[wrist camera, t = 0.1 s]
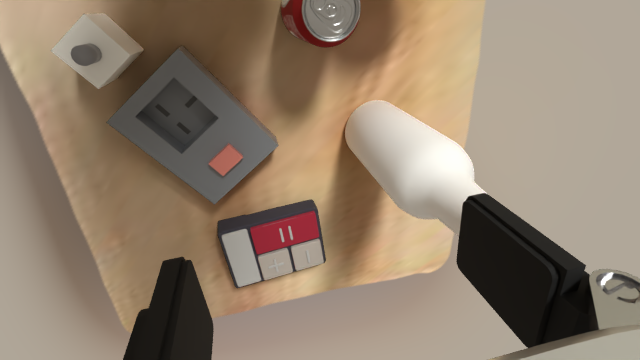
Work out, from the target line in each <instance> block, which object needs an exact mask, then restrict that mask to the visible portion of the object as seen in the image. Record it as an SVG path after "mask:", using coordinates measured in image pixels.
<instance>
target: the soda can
mask: <svg viewBox="0 0 640 360" xmlns="http://www.w3.org/2000/svg"><path fill="white" fill-rule="evenodd" d="M281 15H282V19H283V22H284V24H285V26H286V28H287V29H288V30H289V31H290V33H292V34H293V35H294V36H295V37H297V38H299V39H302V40H304V41H306V42H309V43H311V44H313V45H316V46H319V47H333V46H336V45H339V44H341V43H342V42H344V41H345V40H347V39H348V38H349V37H350V36H351V34H352V33H353V32H354V30H355V28H356V26H357V24H358V21H359V17H360V0H282V2H281Z"/></svg>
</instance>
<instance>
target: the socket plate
mask: <svg viewBox="0 0 640 360" xmlns="http://www.w3.org/2000/svg"><path fill="white" fill-rule="evenodd" d="M106 123H108V124H109V125H110V126H112V127H113V128H114V129H116V130H117V131H118V132H120V133H121V134H122V135H124V136H125V137H126V138H128V139H129V140H130V141H132V142H133V143H134V144H135V145H137V146H138V147H139V148H141V149H142V150H143V151H145V152H146V153H147V154H149V155H150V156H151V157H153V158H154V159H155V160H157V161H158V162H159V163H160V164H162V165H163V166H164V167H166V168H167V169H168V170H170V171H171V172H172V173H174V174H175V175H176V176H178V177H179V178H180V179H182V180H183V181H184V182H186V183H187V184H188V185H189V186H191V187H192V188H193V189H195V190H196V191H197V192H199V193H200V194H201V195H203V196H204V197H205V198H207V199H208V200H209V201H211V202H212V203H213V204H214V205H215V204H216V203H217V202H218V201H219V200H220V199H221V198H222V197H223V196H224V195H225V194H226V193H228V192H229V191H230V190H231V189H232V188H233V187H234V186H235V185H236V184H237V183H238V182H240V181H241V180H242V179H243V178H244V177H245V176H246V175H247V174H248V173H249V172H250V171H251V170H253V169H254V168H255V167H256V166H257V165H258V164H259V163H260V162H261V161H262V160H263V159H265V158H266V157H267V156H268V155H269V154H270V153H271V152H272V151H273V150H274V149H275V148H276V147H278V142H277V139H276V137H275V136H274V135H273V134H272V133H271V132H270V131H269V130H268V129H267V128H266V127H265V126H264V125H263V124H262V123H261V122H260V121H259V120H258V119H257V118H256V117H255V116H254V115H253V114H252V113H251V112H250V111H249V110H248V109H247V108H246V107H245V106H244V105H243V104H242V103H241V102H240V101H239V100H237V99H236V98H235V97H234V96H233V95H232V94H231V93H230V92H229V91H228V90H227V89H226V88H225V87H224V86H223V85H222V84H221V83H220V82H219V81H218V80H217V79H216V78H215V77H214V76H213V75H212V74H211V73H210V72H209V71H208V70H207V69H206V68H205V67H204V66H203V65H202V64H201V63H200V62H199V61H198V60H197V59H196V58H195V57H194V56H193V55H192V54H191V53H190V52H189V51H187V50H186V49H185V48H184V47H183V46H181V47H179V48H178V49H177V50H176V51H175V52H174V53H173V54H172V55H171V56H170V57H169V58H168V59H167V60H166V61H165V62H164V63H163V64H162V65H161V66H160V67H159V68H158V69H157V71H156V72H155V73H154V74H153V75H152V76H151V77H150V78H149V79H148V80H147V81H146V82H145V83H144V84H143V85H142V86H141V87H140V88H139V89H138V90H137V91H136V92H135V93H134V94H133V95H132V96H131V97H130V98H129V99H128V100H127V102H126V103H125V104H124V105H123V106H122V107H121V108H120V109H119V110H118V111H117V112H116V113H115V114H114V115H113V116H112V117H111V118H110V119H109V120H108V121H107V122H106Z"/></svg>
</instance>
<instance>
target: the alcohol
mask: <svg viewBox="0 0 640 360" xmlns="http://www.w3.org/2000/svg"><path fill="white" fill-rule="evenodd" d="M345 138H346V142H347V144H348V146H349V148H350V149H351V151H352V152H353V153H354V154H355V155H356V157H357V158H358V159H359V160H360V161H361V163H362V164H363V165H364V166H365V167H366V169H367V170H368V171H369V172H370V174H371V175H372V176H373V177H374V178H375V180H376V181H377V182H378V183H379V184H380V186H381V187H382V188H383V189H384V190H385V192H386V193H387V194H388V195H389V196H390V198H391V199H392V200H393V201H394V203H395V204H396V205H397V206H398V207H399V208H400V209H402V210H403V211H405V212H406V213H408V214H410V215H412V216H414V217H416V218H420V219H439V220H440V221H441V222H442V223H443V224H445V225H446V226H447V227H448V228H449V229H451V230H452V231H453V232H454V233H455V234H457V235H458V236H459V233H460V223H461V214H462V205H463V202H464V201H466V199H467V197H469V196H472V195H476V194H481V193H486V192H485V191H484V190H482V189H481V188H480V187H479V186H478V185H477V184H476V183H475V182H474V167H473V164H472V161H471V160H470V158H469V156H468V155H467V153H466V152H465V151H464V149H463V148H462V147H461V146H460V145H459V144H458V143H456V142H454V141H453V140H451V139H449V138H448V137H446V136H444V135H443V134H441V133H439V132H438V131H436V130H434V129H433V128H431V127H429V126H428V125H426V124H424V123H423V122H421V121H419V120H418V119H416V118H414V117H412V116H411V115H409V114H407V113H406V112H404V111H402V110H401V109H399V108H397V107H396V106H394V105H392V104H391V103H389V102H386V101H383V100H373V101H369V102H366V103H364V104H362V105H361V106H359V107H358V108H357V109H356V110H355V111H354V112H353V113H352V114H351V116H350V117H349V119H348V121H347V124H346V129H345ZM486 194H487V193H486Z"/></svg>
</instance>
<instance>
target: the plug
mask: <svg viewBox="0 0 640 360" xmlns="http://www.w3.org/2000/svg"><path fill="white" fill-rule="evenodd" d="M143 51H144V49H143V48H142V47H141V46H140V45H139V44H138V43H137V42H136V41H135V40H133V39H132V38H131V37H130V36H129V35H128V34H127V33H126V32H125V31H124V30H123V29H121V28H120V27H119V26H118V25H117V24H116V23H115V22H114V21H113V20H112V19H111V18H109V17H108V16H107V15H106V14H105V13H99V14H83V15H82V16H81V17H80V19H79V20H78V21H77V22H76V23H75V24H74V25H73V26H72V27H71V29H70V30H69V31H68V32H67V33H66V34H65V35H64V36H63V38H62V39H61V40H60V41H59V42H58V43H57V44H56V45H55V46H54V48H53V49H52V50H51V52H52V53H54V54H55V55H56V56H57V57H59V58H60V59H61V60H62V61H64V62H65V63H66V64H67V65H69V66H70V67H71V68H73V69H74V70H75V71H76V72H78V73H79V74H80V75H81V76H83V77H84V78H85V79H86V80H88V81H89V82H90V83H91V84H93V85H94V86H95V87H96V88H98V89H100V88H102V87H103V86H105V85H107V84H109V83H110V82H112V81H114V80H116V79H117V78H118V77H119V76H120V75H121V74H122V73H123V72H124V71H125V69H126V68H127V67H128V66H129V65H130V64H131V63H132V62H133V61H134V60H135V59H136V58H137V57H138V56H139V55H140V54H141V53H142V52H143Z"/></svg>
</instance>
